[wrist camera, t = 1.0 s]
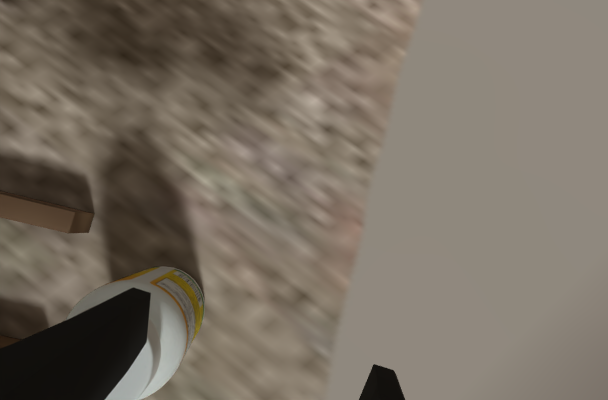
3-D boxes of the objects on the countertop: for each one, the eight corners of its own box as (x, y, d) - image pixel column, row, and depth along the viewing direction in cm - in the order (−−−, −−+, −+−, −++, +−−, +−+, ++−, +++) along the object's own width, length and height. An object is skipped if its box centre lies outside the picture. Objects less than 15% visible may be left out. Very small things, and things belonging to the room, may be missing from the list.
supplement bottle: (213, 273, 24) (187, 304, 14) (195, 357, 23) (155, 449, 14) (127, 258, 23) (39, 280, 13) (106, 344, 22) (-1, 432, 13)
